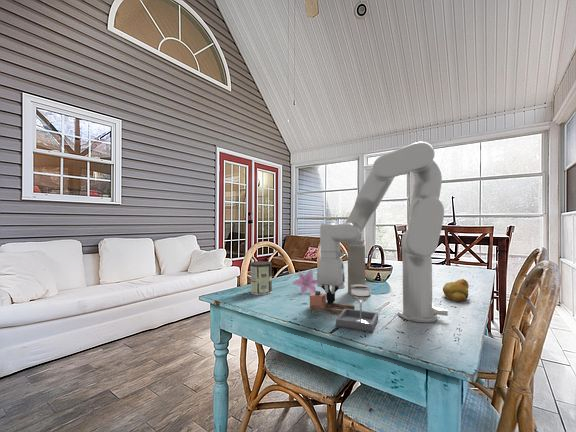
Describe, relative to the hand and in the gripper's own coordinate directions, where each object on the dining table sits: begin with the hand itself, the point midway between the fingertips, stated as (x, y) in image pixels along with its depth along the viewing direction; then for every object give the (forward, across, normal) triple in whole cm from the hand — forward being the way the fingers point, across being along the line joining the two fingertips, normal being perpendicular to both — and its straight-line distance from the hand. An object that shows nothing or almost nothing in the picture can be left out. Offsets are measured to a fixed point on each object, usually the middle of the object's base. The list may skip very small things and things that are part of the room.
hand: (330, 302), depth 109 cm
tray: (+3, -12, +10) cm, 16 cm away
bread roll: (+3, -45, -35) cm, 57 cm away
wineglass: (+2, -13, +10) cm, 17 cm away
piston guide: (+3, -1, +1) cm, 3 cm away
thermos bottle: (+3, -4, -27) cm, 27 cm away
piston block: (+3, +5, 0) cm, 6 cm away
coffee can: (+3, +38, -11) cm, 39 cm away
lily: (+3, +18, -19) cm, 26 cm away
